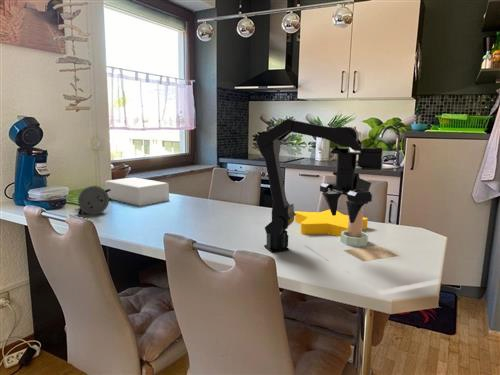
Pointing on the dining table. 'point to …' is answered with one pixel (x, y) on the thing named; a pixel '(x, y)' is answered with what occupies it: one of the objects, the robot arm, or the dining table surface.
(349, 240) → the bowl
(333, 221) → the star
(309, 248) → the dining table surface
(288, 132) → the robot arm
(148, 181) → the box
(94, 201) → the toy
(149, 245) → the dining table surface
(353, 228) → the peach cylinder with balls
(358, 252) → the board
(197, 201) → the dining table surface
